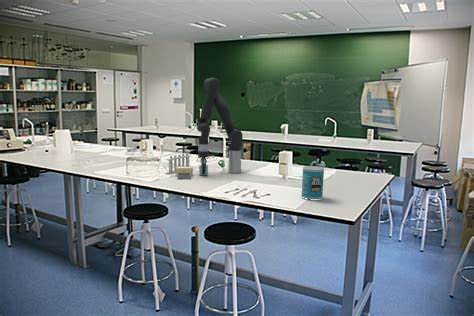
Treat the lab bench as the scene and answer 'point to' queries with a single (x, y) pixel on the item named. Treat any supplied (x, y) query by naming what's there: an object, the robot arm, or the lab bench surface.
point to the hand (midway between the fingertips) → (203, 172)
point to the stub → (201, 170)
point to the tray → (184, 175)
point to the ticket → (184, 170)
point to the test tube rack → (178, 162)
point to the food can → (312, 182)
